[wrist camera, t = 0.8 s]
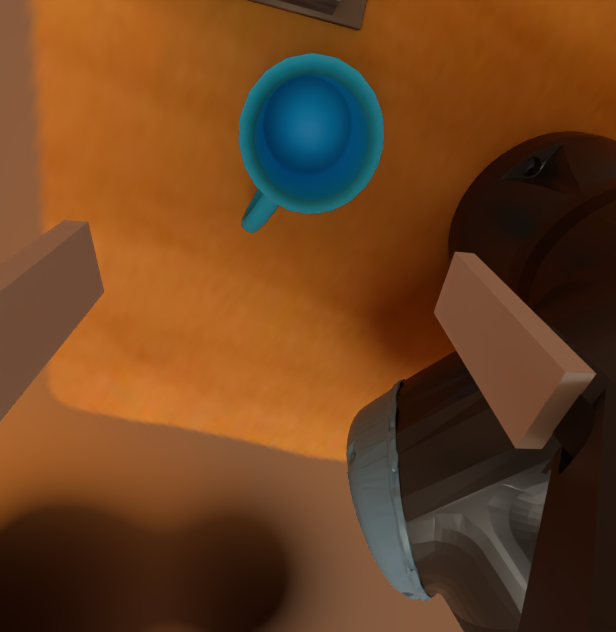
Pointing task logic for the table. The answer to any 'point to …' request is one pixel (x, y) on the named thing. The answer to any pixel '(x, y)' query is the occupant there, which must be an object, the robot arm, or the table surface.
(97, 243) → the table surface
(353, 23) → the holder
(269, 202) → the mug
